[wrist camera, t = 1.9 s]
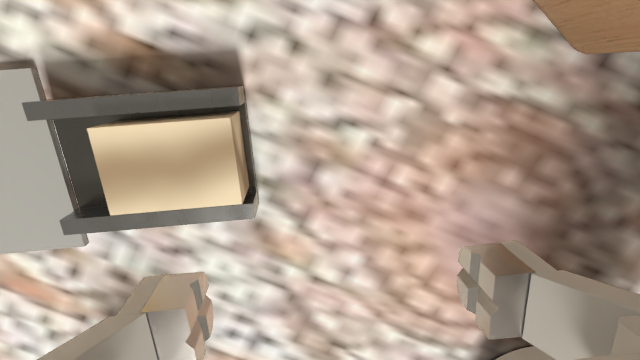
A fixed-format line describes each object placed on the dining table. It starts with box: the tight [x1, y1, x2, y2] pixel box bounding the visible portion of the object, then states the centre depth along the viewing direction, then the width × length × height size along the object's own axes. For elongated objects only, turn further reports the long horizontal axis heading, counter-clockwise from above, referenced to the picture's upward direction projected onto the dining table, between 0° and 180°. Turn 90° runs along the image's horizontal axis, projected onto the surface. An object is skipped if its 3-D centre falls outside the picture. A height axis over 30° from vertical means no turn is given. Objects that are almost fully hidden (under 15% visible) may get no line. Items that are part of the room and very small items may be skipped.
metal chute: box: [22, 85, 259, 235], centre depth 26 cm, size 10×14×3 cm
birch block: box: [87, 111, 249, 216], centre depth 25 cm, size 6×9×4 cm, turn 94°
